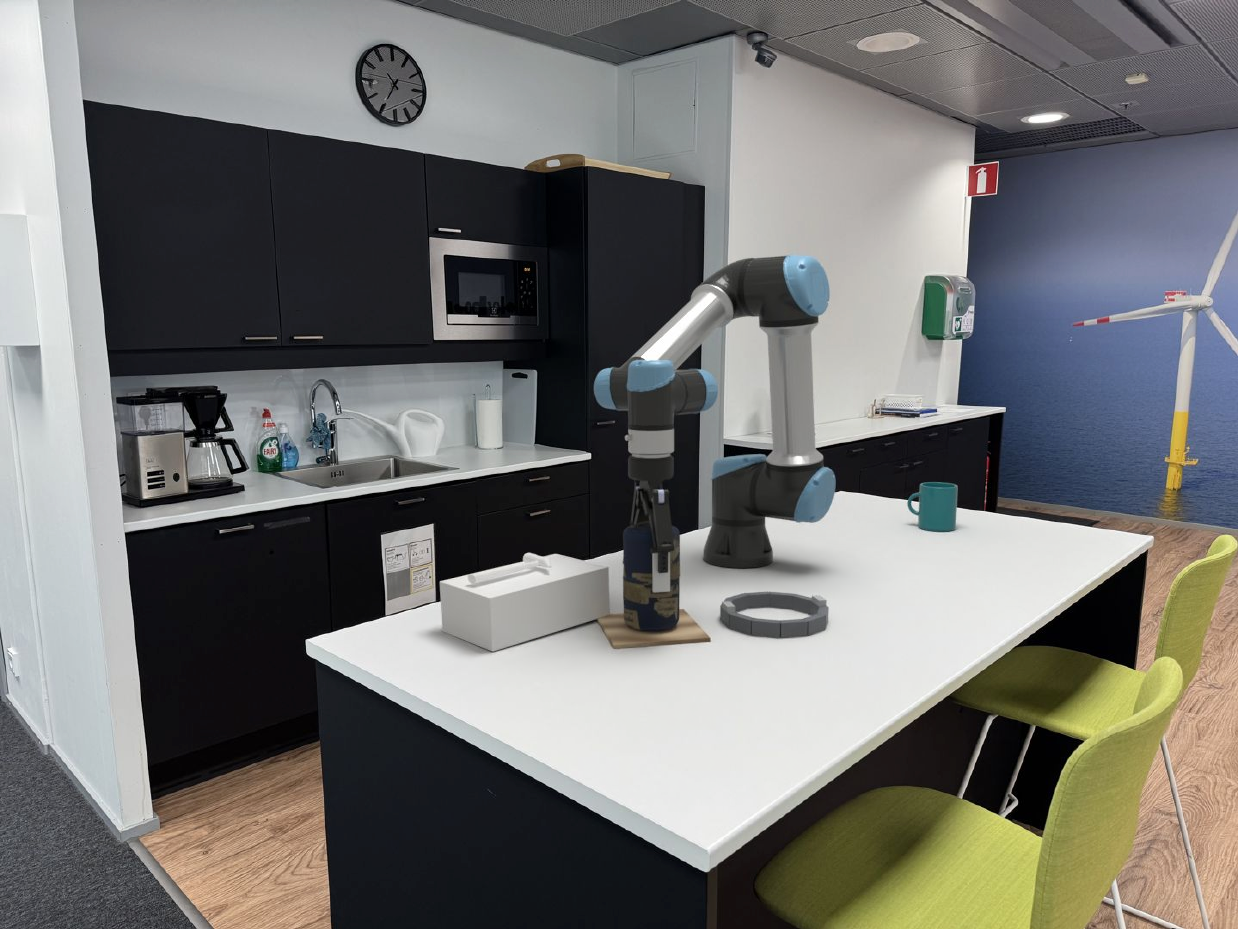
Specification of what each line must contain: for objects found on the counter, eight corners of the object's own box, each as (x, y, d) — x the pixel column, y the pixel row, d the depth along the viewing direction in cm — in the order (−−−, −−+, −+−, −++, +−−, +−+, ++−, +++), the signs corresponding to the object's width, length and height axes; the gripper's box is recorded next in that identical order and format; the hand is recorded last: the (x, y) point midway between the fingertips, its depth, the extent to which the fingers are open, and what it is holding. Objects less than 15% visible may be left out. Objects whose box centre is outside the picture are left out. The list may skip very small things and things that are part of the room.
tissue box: (609, 614, 159) (608, 553, 158) (492, 651, 142) (489, 583, 141) (557, 598, 170) (555, 541, 168) (442, 631, 153) (438, 568, 151)
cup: (910, 522, 239) (912, 480, 238) (958, 526, 233) (960, 483, 232) (902, 528, 231) (904, 485, 230) (952, 533, 226) (954, 489, 224)
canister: (648, 639, 147) (648, 529, 144) (611, 624, 154) (611, 520, 151) (691, 626, 153) (692, 521, 150) (653, 613, 160) (654, 513, 157)
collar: (708, 608, 165) (708, 590, 164) (801, 602, 168) (802, 584, 168) (741, 641, 147) (742, 620, 147) (845, 633, 151) (845, 612, 150)
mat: (595, 618, 160) (595, 615, 159) (683, 612, 163) (683, 609, 163) (613, 648, 144) (613, 645, 144) (710, 641, 147) (710, 637, 147)
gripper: (613, 446, 161) (614, 563, 164) (646, 466, 136) (646, 603, 139) (654, 444, 162) (654, 560, 165) (694, 464, 138) (693, 599, 141)
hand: (651, 580), depth 152 cm, fingers open, 13 cm apart
